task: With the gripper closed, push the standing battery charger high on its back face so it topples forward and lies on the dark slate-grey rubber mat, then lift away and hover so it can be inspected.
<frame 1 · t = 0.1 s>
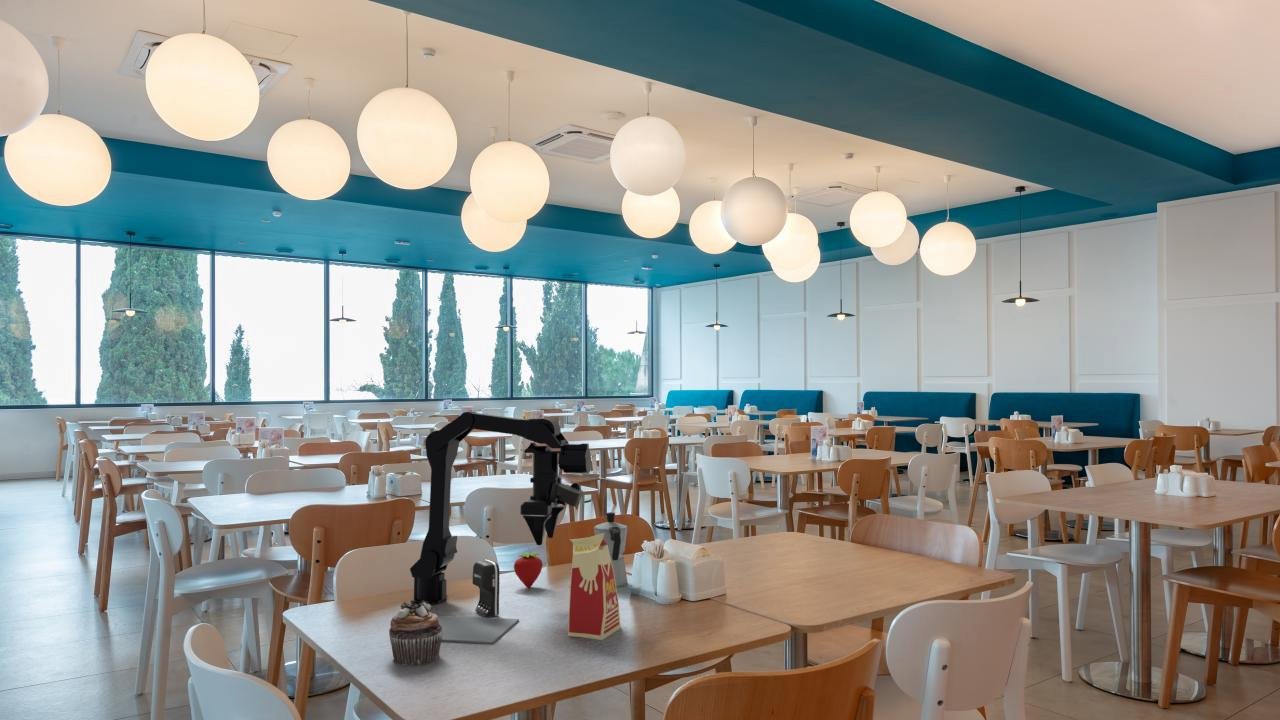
hand: (545, 541, 184), 14 cm above the table, fingers open, 9 cm apart
milk carton: (591, 632, 163), on the table
mat: (464, 629, 165), on the table
cupcake: (416, 659, 147), on the table
strawberry: (528, 588, 201), on the table
coffee maker: (611, 585, 203), on the table
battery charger: (485, 615, 177), on the table
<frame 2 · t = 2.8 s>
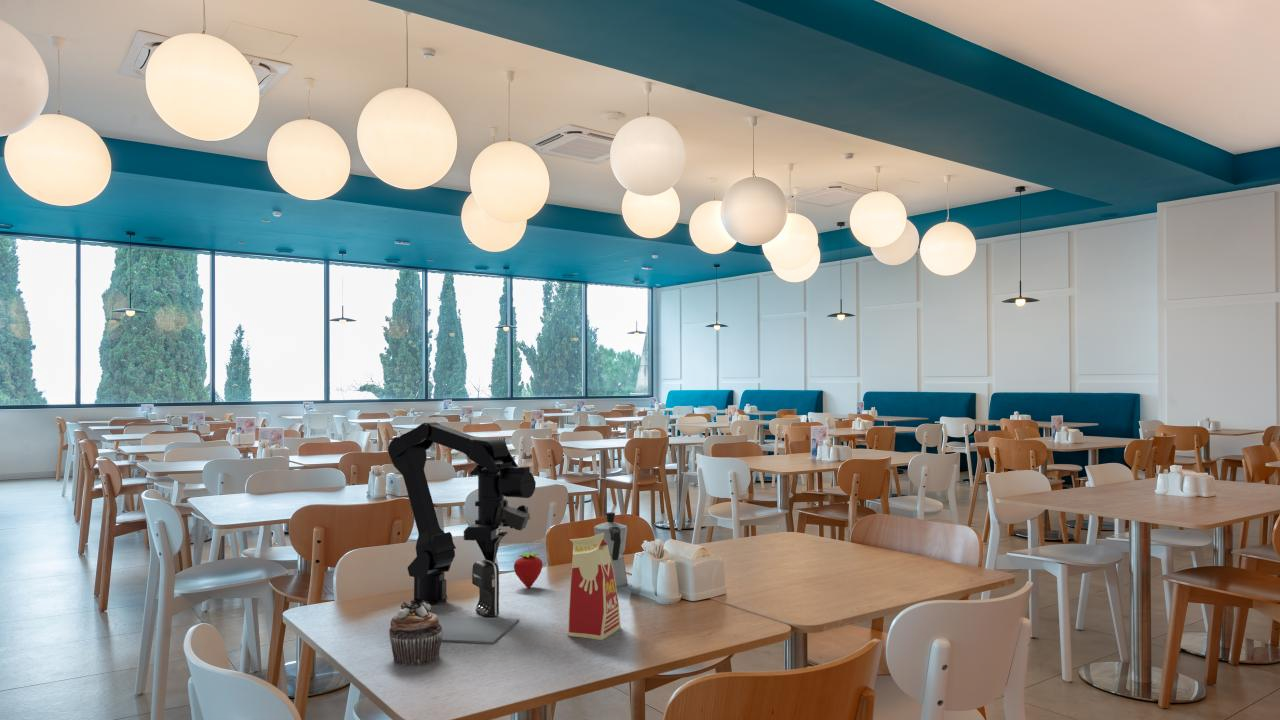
hand: (491, 565, 180), 10 cm above the table, fingers closed
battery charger: (485, 614, 177), on the table, touching gripper
everything else where it was.
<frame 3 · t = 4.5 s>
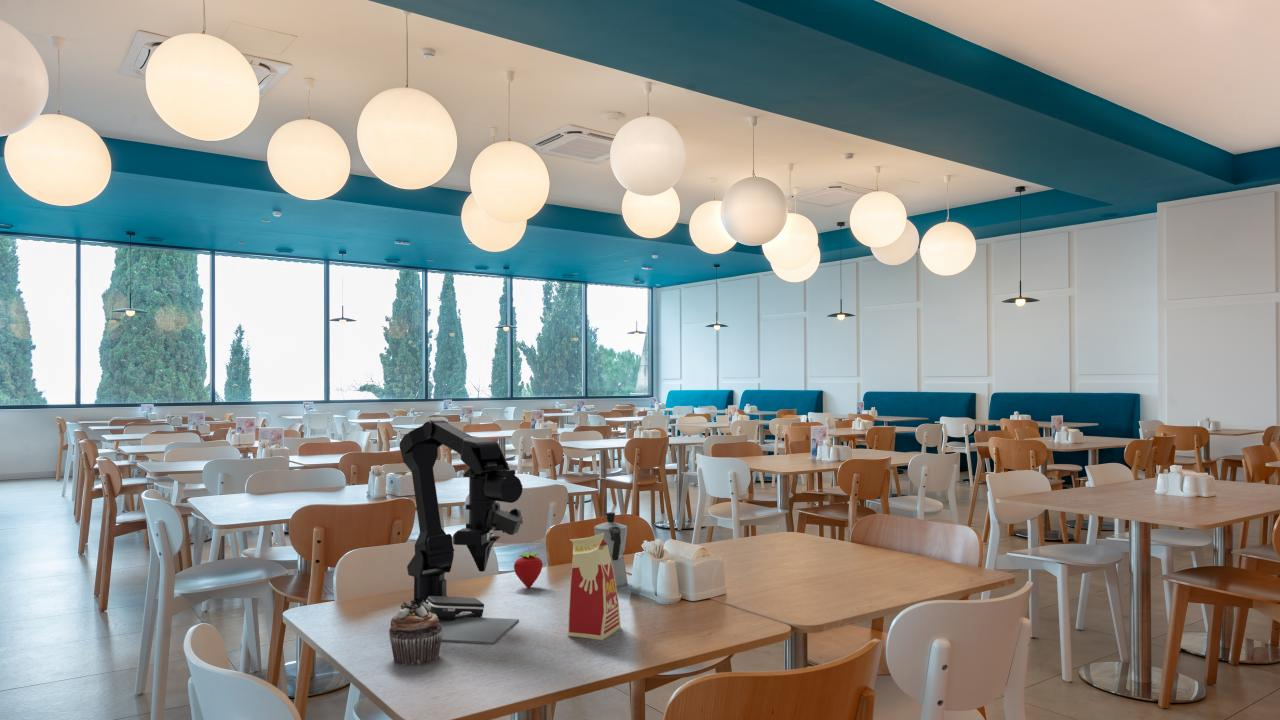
hand: (482, 571, 175), 10 cm above the table, fingers closed
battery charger: (480, 609, 176), point 1 cm above the table, touching mat
everything else where it was.
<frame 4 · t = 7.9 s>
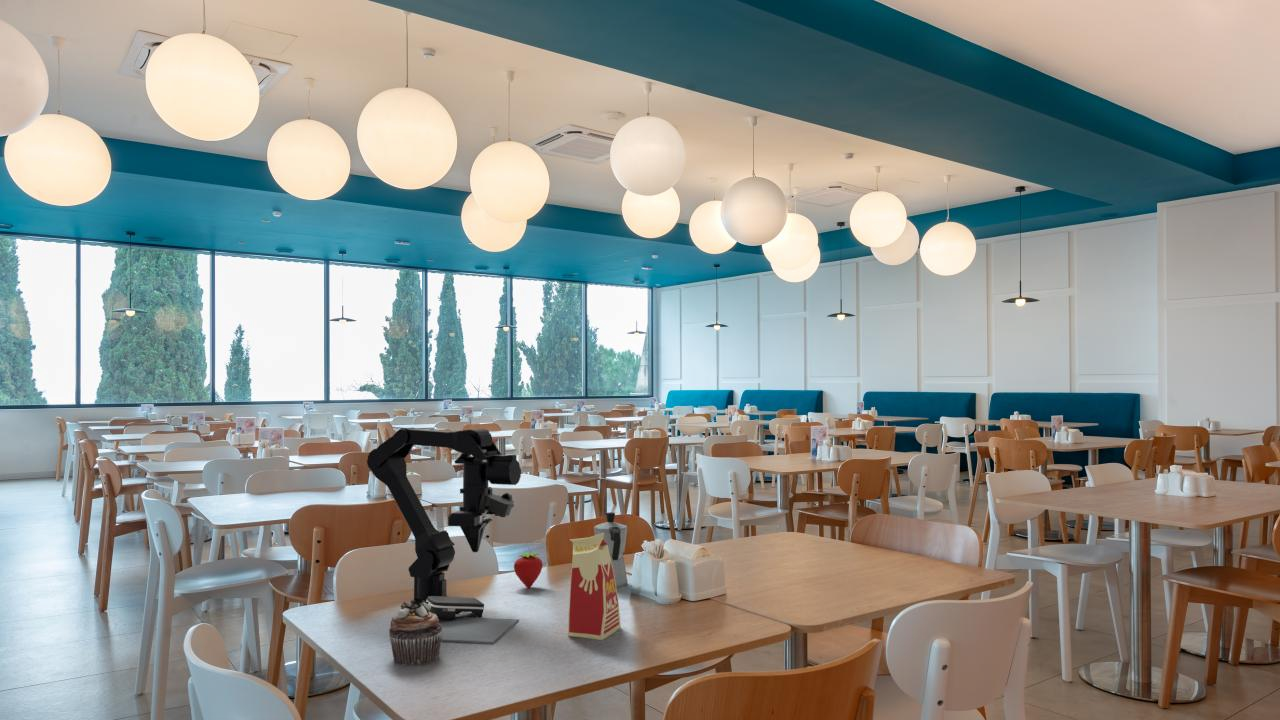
hand: (475, 552, 185), 12 cm above the table, fingers closed
nothing on the table moved.
at the end: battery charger tilted 81°; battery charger inside the target area (4.1 cm from its centre), point 1.2 cm above the table; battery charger touching mat, table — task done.
